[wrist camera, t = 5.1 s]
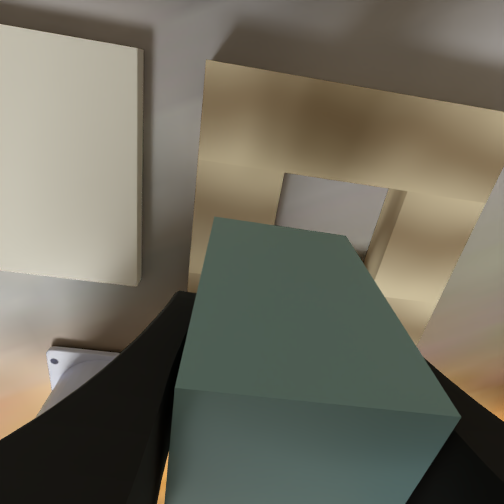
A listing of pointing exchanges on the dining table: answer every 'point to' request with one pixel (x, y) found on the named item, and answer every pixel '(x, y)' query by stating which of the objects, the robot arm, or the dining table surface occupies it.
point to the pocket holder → (350, 169)
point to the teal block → (298, 379)
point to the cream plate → (70, 157)
